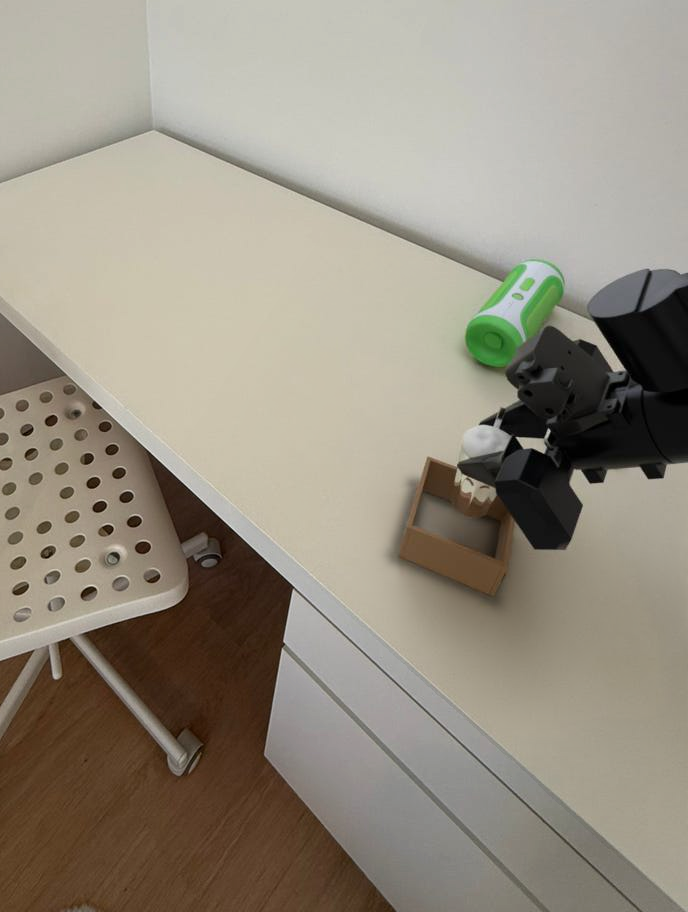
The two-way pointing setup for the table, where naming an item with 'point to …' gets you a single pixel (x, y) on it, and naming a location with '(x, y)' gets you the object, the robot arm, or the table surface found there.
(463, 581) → the carton
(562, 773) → the table surface
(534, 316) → the speaker
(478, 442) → the milkshake
